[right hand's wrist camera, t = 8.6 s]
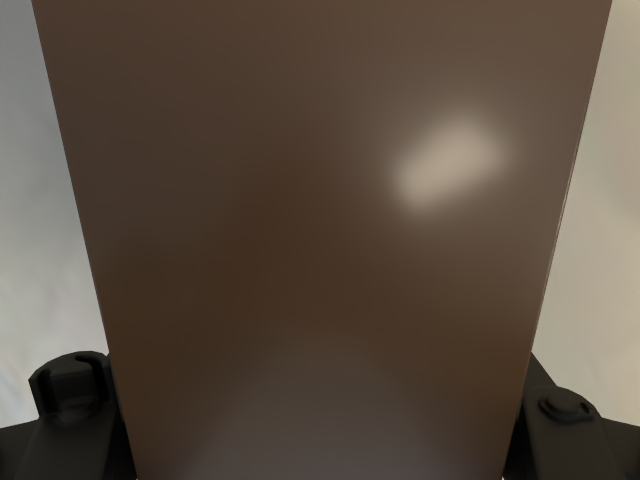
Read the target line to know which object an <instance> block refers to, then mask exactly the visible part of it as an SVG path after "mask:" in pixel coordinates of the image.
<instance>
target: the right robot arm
mask: <svg viewBox="0 0 640 480" xmlns="http://www.w3.org/2000/svg"><path fill="white" fill-rule="evenodd" d="M28 381H29V384H30V388H31V391H32V394H33V397H34V401H35V404H36V407H37V410H38V414H39V418H38V419H37V420H34V421H30V422H27V423H22V424H18V425H13V426H9V427H4V428H0V480H137V475H136V470H135V466H134V461H133V457H132V452H131V448H130V443H129V439H128V434H127V430H126V425H125V421H124V416H123V412H122V407H121V403H120V398H119V393H118V389H117V384H116V380H115V375H114V371H113V366H112V362H111V357H110V353H109V354H108V355H107V356H105V355H104V354H103V353H99V352H95V351H78V352H74V353H70V354H66V355H62V356H60V357H58V358H55V359H53V360H51V361H49V362H47V363H45V364H44V365H43V366H41V367H40V368H38V369H37V370H36V371H35V372H34V373H33V374H32V376H31V377H30V378H29V379H28ZM503 478H504V480H640V427H639V426H635V425H630V424H626V423H622V422H617V421H613V420H609V419H606V418H602V417H601V415H600V414H599V413H598V411H597V410H596V408H595V407H594V405H592V404H591V403H590V402H589V401H587V400H586V399H585V398H584V397H582V396H580V395H579V394H577V393H575V392H573V391H571V390H569V389H565V388H562V387H558V386H556V384H555V383H554V382H553V380H552V379H551V378H550V376H549V375H548V374H547V372H546V371H545V369H544V368H543V367H542V365H541V364H540V363H539V361H538V360H537V359H536V357H535V356H534V355H533V353H532V352H531V355H530V359H529V363H528V368H527V372H526V376H525V381H524V385H523V389H522V394H521V398H520V402H519V407H518V411H517V415H516V420H515V424H514V428H513V433H512V437H511V442H510V446H509V450H508V455H507V459H506V463H505V468H504V472H503Z"/></svg>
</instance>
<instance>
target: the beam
mask: <svg viewBox="0 0 640 480" xmlns="http://www.w3.org/2000/svg"><path fill="white" fill-rule="evenodd" d="M31 1H32V6H33V10H34V15H35V19H36V24H37V28H38V33H39V37H40V42H41V46H42V51H43V55H44V60H45V64H46V69H47V73H48V78H49V82H50V87H51V91H52V96H53V100H54V105H55V109H56V114H57V118H58V123H59V127H60V132H61V136H62V141H63V146H64V150H65V155H66V159H67V164H68V168H69V173H70V177H71V182H72V186H73V191H74V195H75V200H76V204H77V209H78V213H79V218H80V222H81V227H82V231H83V236H84V240H85V245H86V249H87V254H88V258H89V263H90V267H91V272H92V276H93V281H94V285H95V290H96V294H97V299H98V303H99V308H100V312H101V317H102V321H103V326H104V330H105V335H106V339H107V344H108V348H109V353H110V357H111V362H112V366H113V371H114V375H115V380H116V384H117V389H118V393H119V398H120V403H121V407H122V412H123V416H124V421H125V425H126V430H127V434H128V439H129V443H130V448H131V452H132V457H133V461H134V466H135V470H136V475H137V479H138V480H502V476H503V472H504V468H505V463H506V459H507V455H508V450H509V446H510V442H511V437H512V433H513V428H514V424H515V420H516V415H517V411H518V407H519V402H520V398H521V394H522V389H523V385H524V381H525V376H526V372H527V368H528V363H529V359H530V355H531V350H532V346H533V342H534V337H535V333H536V329H537V324H538V320H539V316H540V311H541V307H542V303H543V298H544V294H545V290H546V285H547V281H548V277H549V272H550V268H551V264H552V259H553V255H554V251H555V246H556V242H557V238H558V233H559V229H560V225H561V220H562V216H563V212H564V207H565V203H566V199H567V194H568V190H569V186H570V181H571V177H572V173H573V168H574V164H575V159H576V155H577V151H578V146H579V142H580V138H581V133H582V129H583V125H584V120H585V116H586V112H587V107H588V103H589V99H590V94H591V90H592V86H593V81H594V77H595V73H596V68H597V64H598V60H599V55H600V51H601V47H602V42H603V38H604V34H605V29H606V25H607V21H608V16H609V12H610V8H611V3H612V0H31Z"/></svg>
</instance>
